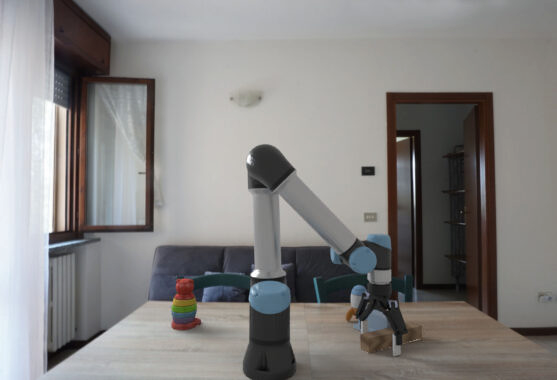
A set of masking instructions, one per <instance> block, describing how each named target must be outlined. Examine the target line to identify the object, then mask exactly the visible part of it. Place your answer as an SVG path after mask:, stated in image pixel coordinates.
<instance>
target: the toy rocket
mask: <svg viewBox="0 0 557 380" xmlns="http://www.w3.org/2000/svg"><path fill="white" fill-rule="evenodd" d="M364 292H368V289H367V288H366V287H365V286H364V285H360V284H357V285H355V286H353V288H352V289H351V293H350V306H351V308H349V309H348V311H346V314H345V321H349V322H350V321H351V319H352V318H353V316H354V317H355V319H356V320H358V317H356V316H355V314H356V311H357V309H358V306H359V304H360V301H361V298H362V293H364ZM368 304H369V302H368V303H367V305H368ZM366 307H367V306H366Z"/></svg>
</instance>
